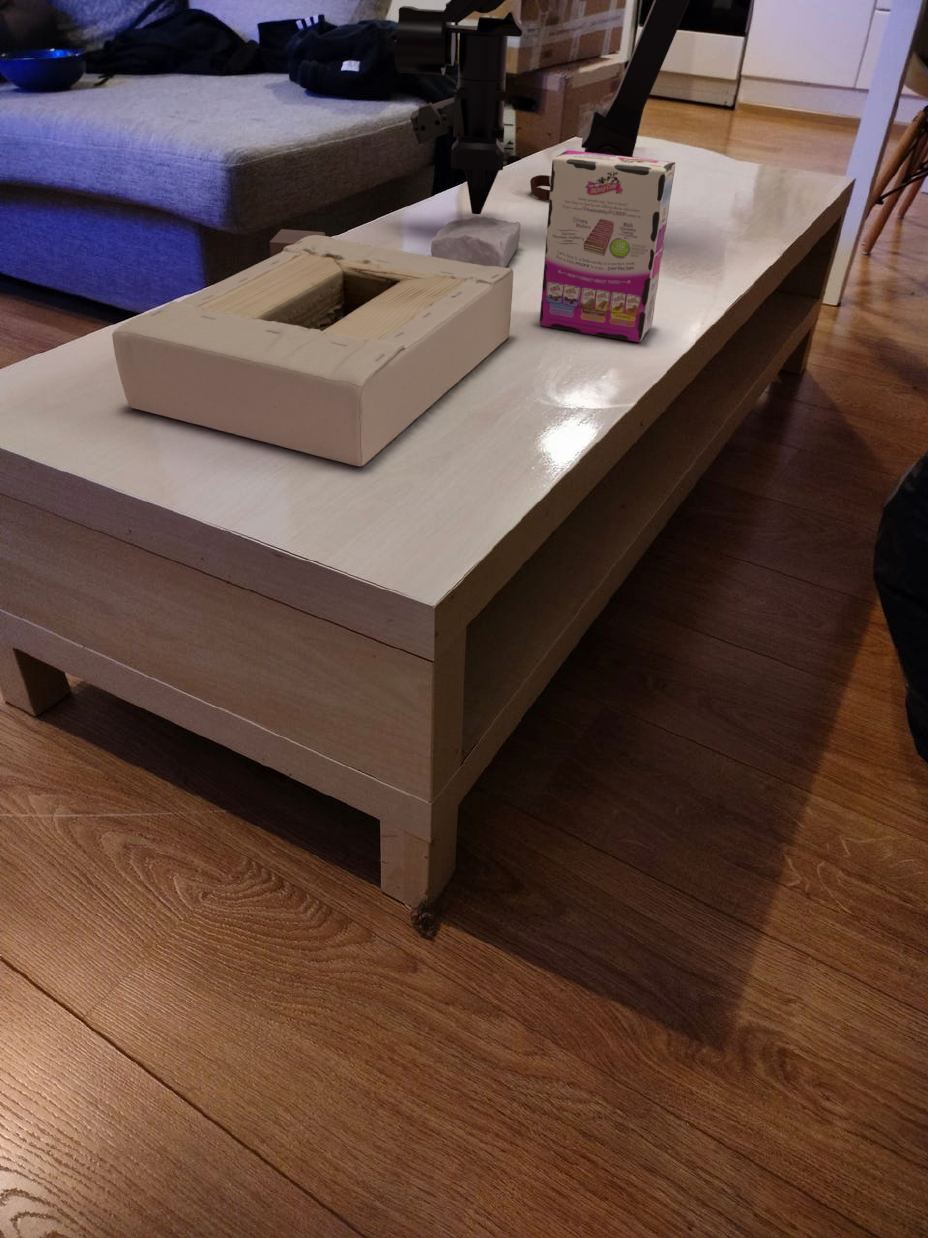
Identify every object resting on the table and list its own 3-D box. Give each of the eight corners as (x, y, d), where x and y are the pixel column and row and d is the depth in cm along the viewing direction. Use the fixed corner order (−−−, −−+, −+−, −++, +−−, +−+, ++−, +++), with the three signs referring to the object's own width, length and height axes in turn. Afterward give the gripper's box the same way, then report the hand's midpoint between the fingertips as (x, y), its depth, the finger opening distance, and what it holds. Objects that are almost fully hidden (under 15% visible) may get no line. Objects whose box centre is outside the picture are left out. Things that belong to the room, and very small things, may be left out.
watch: (582, 200, 143) (585, 174, 140) (563, 206, 140) (565, 179, 137) (541, 190, 146) (543, 164, 144) (521, 195, 144) (523, 169, 141)
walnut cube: (284, 273, 112) (281, 228, 109) (327, 276, 111) (325, 231, 108) (272, 287, 108) (269, 241, 105) (316, 291, 107) (314, 244, 104)
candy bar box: (652, 328, 102) (679, 160, 92) (641, 344, 98) (667, 171, 88) (551, 310, 105) (566, 146, 95) (536, 325, 101) (551, 156, 92)
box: (313, 299, 106) (121, 409, 82) (310, 225, 101) (105, 320, 77) (511, 340, 99) (365, 474, 75) (517, 264, 95) (364, 380, 71)
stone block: (428, 282, 116) (509, 274, 114) (421, 241, 114) (504, 231, 111) (449, 257, 126) (525, 248, 123) (443, 218, 123) (520, 208, 120)
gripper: (420, 62, 124) (419, 192, 133) (408, 87, 109) (408, 231, 118) (507, 66, 124) (500, 196, 133) (507, 91, 109) (499, 235, 118)
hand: (476, 213), depth 126 cm, fingers closed
